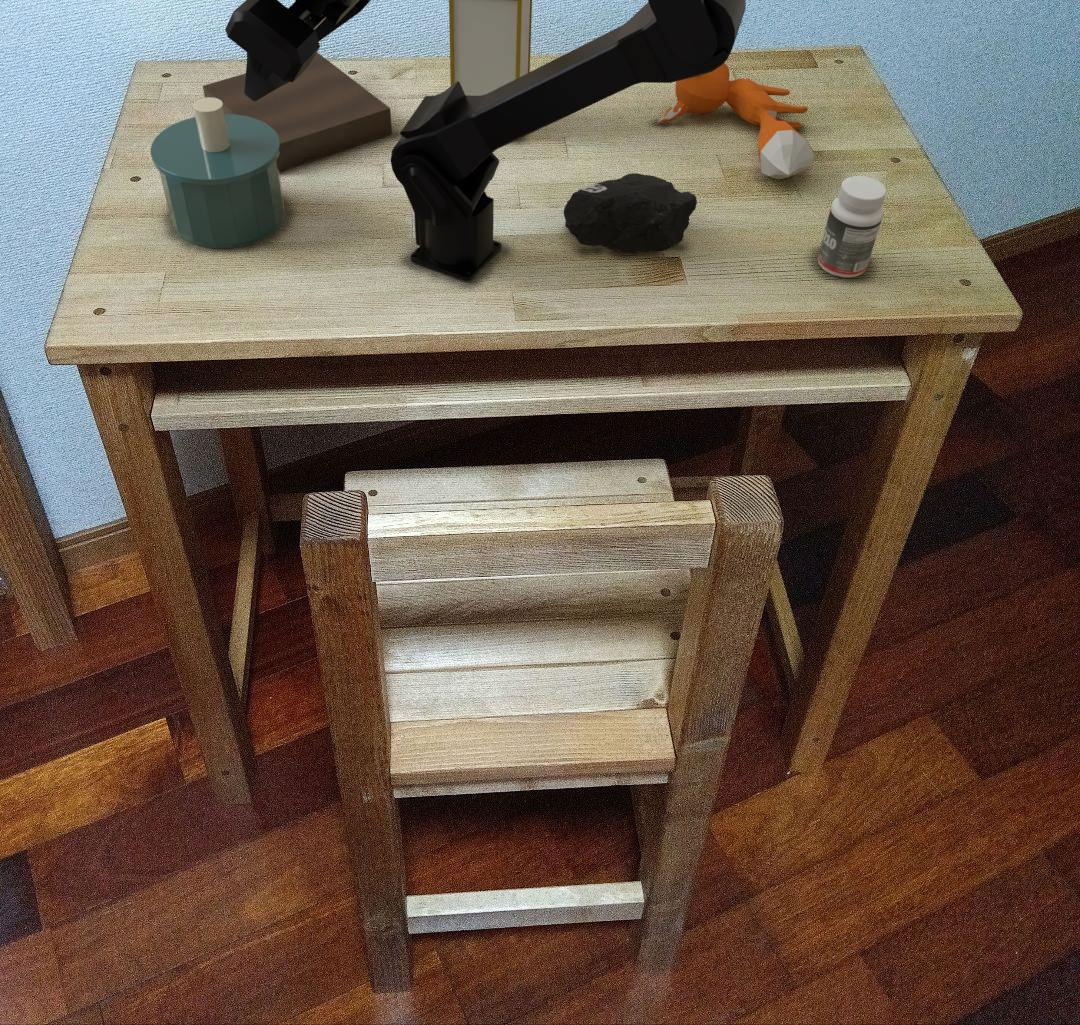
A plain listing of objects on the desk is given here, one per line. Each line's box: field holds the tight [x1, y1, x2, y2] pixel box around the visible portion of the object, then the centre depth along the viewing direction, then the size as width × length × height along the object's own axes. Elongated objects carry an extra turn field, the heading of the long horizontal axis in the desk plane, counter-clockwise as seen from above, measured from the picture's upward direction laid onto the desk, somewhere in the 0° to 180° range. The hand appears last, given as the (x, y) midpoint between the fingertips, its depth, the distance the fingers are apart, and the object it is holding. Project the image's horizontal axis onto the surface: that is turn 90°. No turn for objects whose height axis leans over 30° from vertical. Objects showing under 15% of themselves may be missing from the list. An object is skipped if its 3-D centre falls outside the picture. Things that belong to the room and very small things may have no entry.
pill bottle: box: [817, 175, 887, 278], centre depth 106 cm, size 5×5×8 cm
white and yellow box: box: [448, 0, 533, 141], centre depth 114 cm, size 7×13×24 cm, turn 171°
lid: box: [150, 97, 281, 185], centre depth 103 cm, size 12×12×5 cm
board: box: [202, 52, 393, 173], centre depth 121 cm, size 15×14×3 cm
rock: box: [563, 172, 698, 254], centre depth 108 cm, size 10×9×6 cm
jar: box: [158, 159, 286, 250], centre depth 107 cm, size 11×11×7 cm
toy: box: [657, 62, 815, 180], centre depth 121 cm, size 8×22×15 cm
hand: (274, 72), depth 99 cm, fingers open, 9 cm apart
